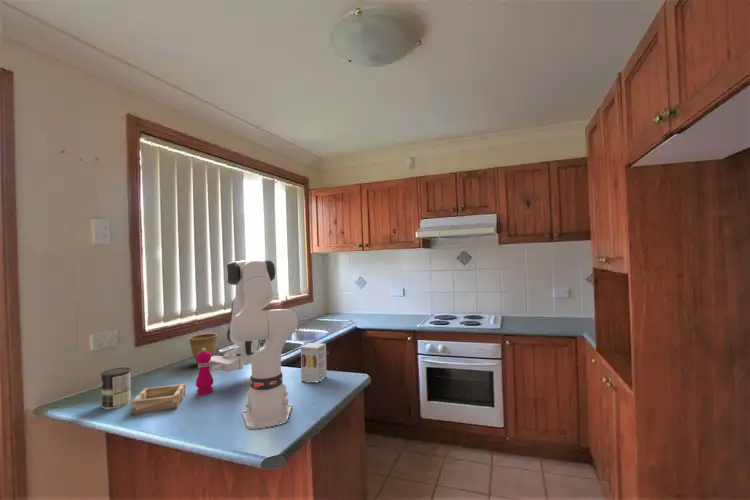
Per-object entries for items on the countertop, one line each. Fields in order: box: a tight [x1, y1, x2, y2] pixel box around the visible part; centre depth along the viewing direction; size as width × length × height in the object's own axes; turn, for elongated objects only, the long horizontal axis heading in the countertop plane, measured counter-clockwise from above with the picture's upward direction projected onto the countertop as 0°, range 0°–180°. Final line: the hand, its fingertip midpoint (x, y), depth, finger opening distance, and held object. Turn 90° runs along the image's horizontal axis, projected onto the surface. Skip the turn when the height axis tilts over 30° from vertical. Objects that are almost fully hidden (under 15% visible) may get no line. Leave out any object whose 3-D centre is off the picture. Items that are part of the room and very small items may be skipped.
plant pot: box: [188, 333, 218, 366], centre depth 213 cm, size 15×15×16 cm
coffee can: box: [100, 366, 132, 410], centre depth 155 cm, size 10×10×14 cm
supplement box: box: [300, 342, 328, 381], centre depth 178 cm, size 10×9×17 cm
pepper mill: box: [195, 348, 214, 396], centre depth 166 cm, size 7×7×20 cm
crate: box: [130, 383, 186, 416], centre depth 153 cm, size 16×16×5 cm
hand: (204, 367), depth 166 cm, fingers open, 8 cm apart
